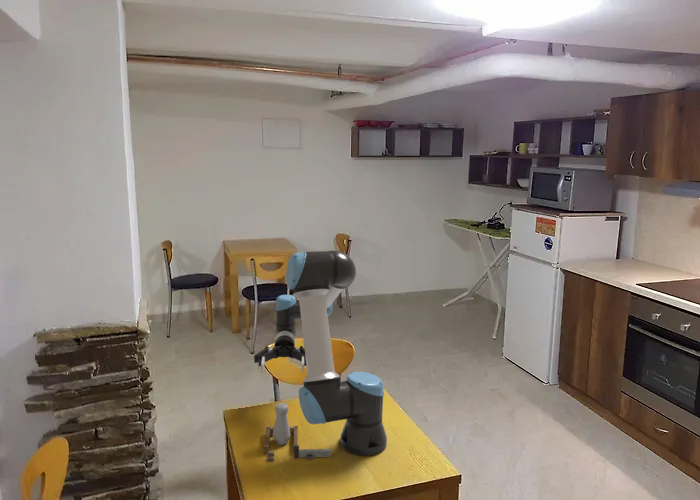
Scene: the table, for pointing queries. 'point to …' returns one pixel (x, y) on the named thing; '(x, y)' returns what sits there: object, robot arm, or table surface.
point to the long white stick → (311, 452)
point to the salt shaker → (281, 424)
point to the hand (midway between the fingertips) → (282, 368)
